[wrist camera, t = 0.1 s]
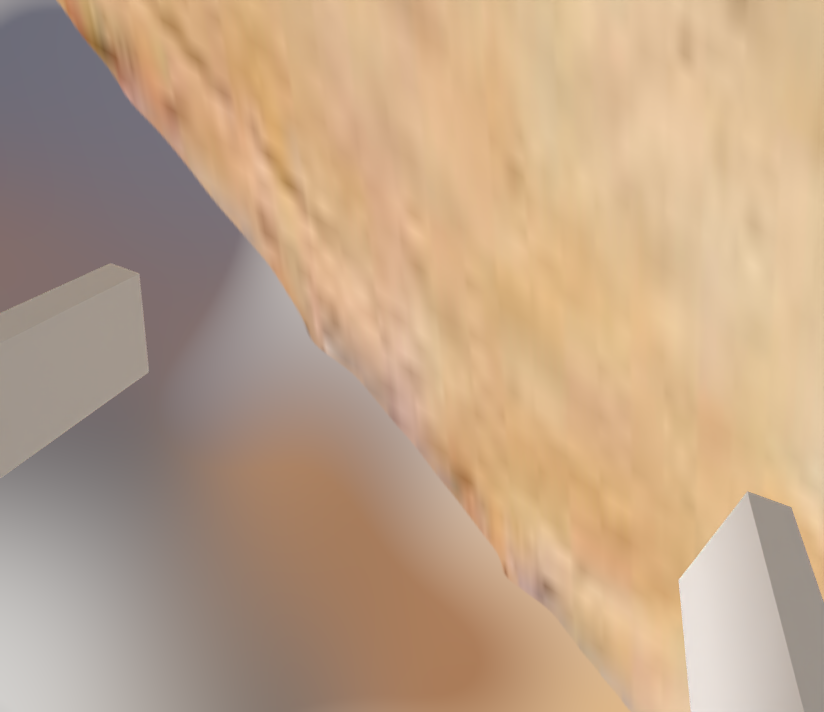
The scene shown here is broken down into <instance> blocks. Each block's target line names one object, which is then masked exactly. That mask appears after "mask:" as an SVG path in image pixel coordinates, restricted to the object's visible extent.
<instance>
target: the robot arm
mask: <svg viewBox="0 0 824 712" xmlns="http://www.w3.org/2000/svg"><path fill="white" fill-rule="evenodd" d="M148 372H149V368H148V357H147V347H146V336H145V326H144V316H143V306H142V297H141V286H140V275H139V273H137V272H134V271H131V270H128V269H125V268H123V267H120V266H117V265H114V264H112V263H110V264H108V265H106V266H103V267H101V268H99V269H96V270H94V271H92V272H90V273H88V274H86V275H83V276H81V277H79V278H77V279H74V280H72V281H70V282H68V283H66V284H63V285H61V286H59V287H57V288H54V289H52V290H50V291H48V292H46V293H44V294H41V295H39V296H37V297H35V298H32V299H30V300H28V301H26V302H24V303H21V304H19V305H17V306H15V307H12V308H10V309H8V310H6V311H4V312H1V313H0V478H1V477H3V476H4V475H6V474H7V473H8V472H10V471H11V470H13V469H14V468H15V467H17V466H18V465H20V464H21V463H22V462H24V461H25V460H27V459H28V458H29V457H31V456H32V455H34V454H35V453H36V452H38V451H39V450H41V449H42V448H43V447H45V446H46V445H47V444H49V443H50V442H52V441H53V440H54V439H56V438H57V437H59V436H60V435H61V434H63V433H64V432H66V431H67V430H68V429H70V428H71V427H73V426H74V425H75V424H77V423H78V422H80V421H81V420H82V419H84V418H85V417H87V416H88V415H89V414H91V413H92V412H94V411H95V410H96V409H98V408H99V407H101V406H102V405H103V404H105V403H106V402H108V401H109V400H110V399H112V398H113V397H115V396H116V395H117V394H119V393H120V392H122V391H123V390H124V389H126V388H127V387H128V386H130V385H131V384H133V383H134V382H136V381H137V380H138V379H140V378H141V377H143V376H144V375H145V374H147V373H148ZM679 589H680V599H681V610H682V621H683V632H684V643H685V654H686V665H687V675H688V686H689V697H690V708H691V712H824V602H823V599H822V596H821V593H820V590H819V587H818V584H817V581H816V578H815V576H814V573H813V570H812V567H811V564H810V561H809V558H808V555H807V552H806V549H805V546H804V543H803V540H802V537H801V535H800V532H799V529H798V526H797V523H796V520H795V517H794V514H793V511H792V508H791V507H789V506H786V505H784V504H781V503H778V502H775V501H772V500H770V499H767V498H764V497H761V496H759V495H756V494H753V493H750V492H747V493H746V494H745V495H744V496H743V498H742V499H741V500H740V502H739V503H738V504H737V505H736V507H735V508H734V509H733V511H732V512H731V513H730V514H729V516H728V517H727V518H726V520H725V521H724V522H723V524H722V525H721V526H720V527H719V529H718V530H717V531H716V533H715V534H714V535H713V536H712V538H711V539H710V540H709V542H708V543H707V544H706V545H705V547H704V548H703V549H702V551H701V552H700V553H699V555H698V556H697V557H696V558H695V560H694V561H693V562H692V564H691V565H690V566H689V567H688V569H687V570H686V571H685V573H684V574H683V575H682V576H681V578H680V579H679Z"/></svg>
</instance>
